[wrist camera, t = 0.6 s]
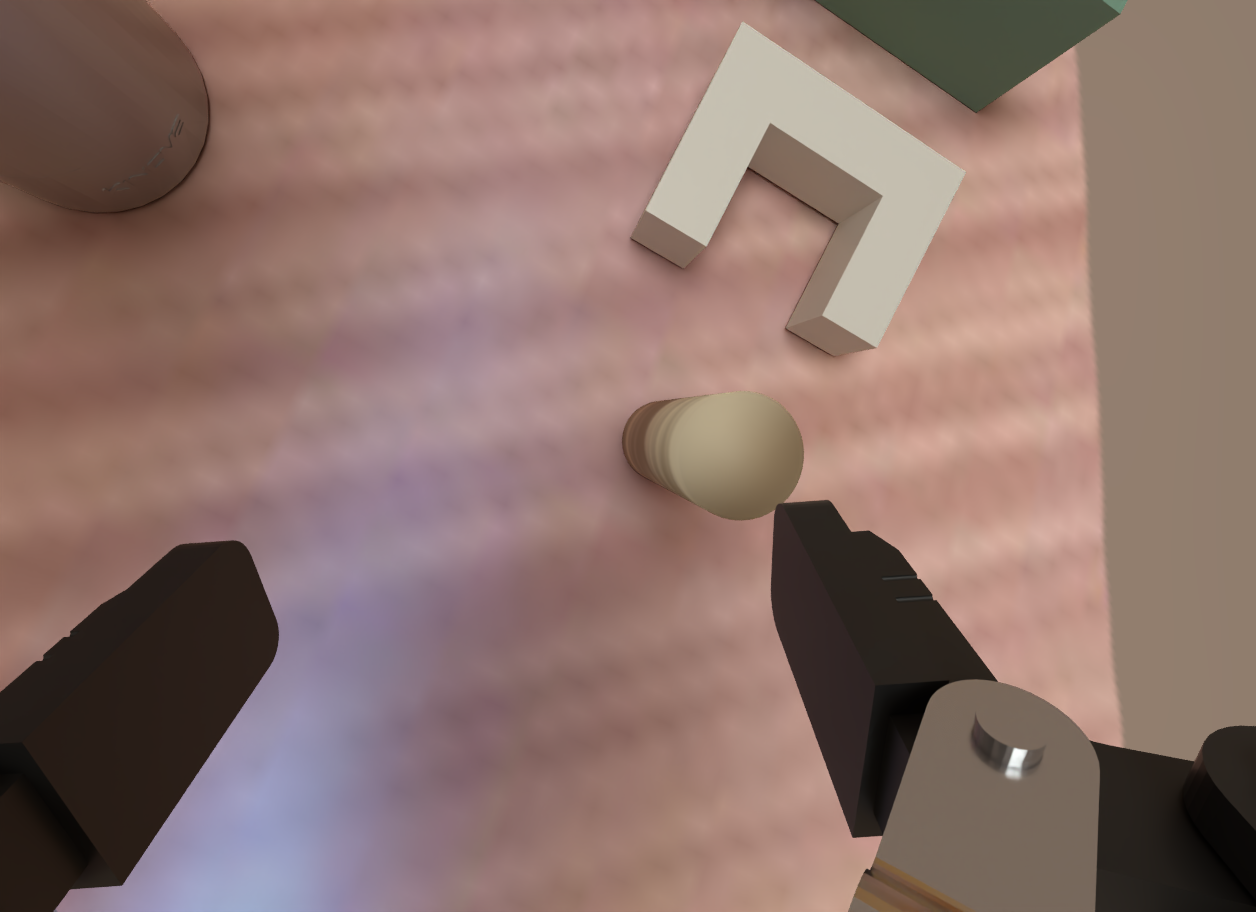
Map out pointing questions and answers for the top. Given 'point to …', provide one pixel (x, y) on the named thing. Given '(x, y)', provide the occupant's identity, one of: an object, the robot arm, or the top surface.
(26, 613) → the top surface
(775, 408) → the dowel
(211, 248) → the top surface
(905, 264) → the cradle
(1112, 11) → the wall
